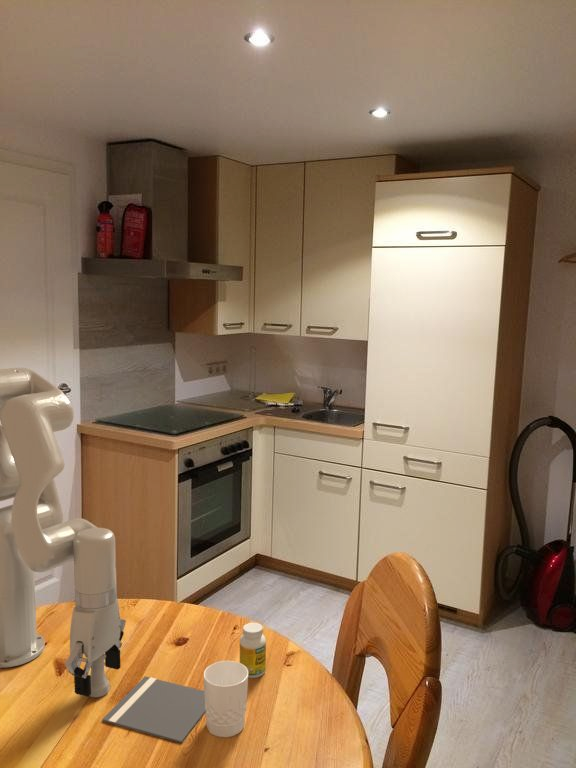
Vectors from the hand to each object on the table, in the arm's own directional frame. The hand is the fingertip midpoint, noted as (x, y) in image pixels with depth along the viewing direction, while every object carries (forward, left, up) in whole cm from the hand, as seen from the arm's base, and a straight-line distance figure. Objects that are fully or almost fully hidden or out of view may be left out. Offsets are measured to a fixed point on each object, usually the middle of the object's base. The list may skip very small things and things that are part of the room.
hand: (98, 680), depth 123 cm
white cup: (+27, 0, -3) cm, 27 cm away
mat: (+14, 0, -2) cm, 14 cm away
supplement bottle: (+25, +17, -3) cm, 30 cm away
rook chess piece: (0, 0, -3) cm, 3 cm away
